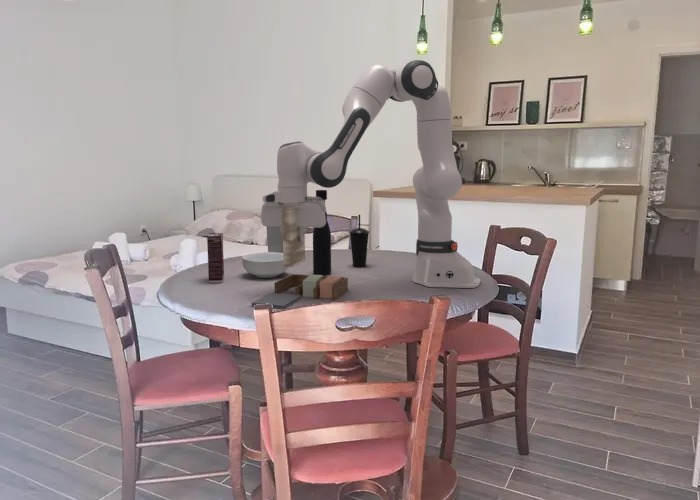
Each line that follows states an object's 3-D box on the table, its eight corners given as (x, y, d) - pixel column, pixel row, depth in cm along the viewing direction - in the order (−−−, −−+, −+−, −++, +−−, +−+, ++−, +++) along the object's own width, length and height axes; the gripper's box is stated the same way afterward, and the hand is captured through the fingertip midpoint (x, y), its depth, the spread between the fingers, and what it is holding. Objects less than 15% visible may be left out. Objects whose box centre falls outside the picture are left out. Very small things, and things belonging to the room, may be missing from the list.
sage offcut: (322, 290, 171) (322, 275, 170) (315, 297, 162) (315, 281, 161) (310, 290, 171) (310, 274, 171) (302, 297, 163) (302, 280, 162)
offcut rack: (347, 289, 171) (347, 277, 170) (334, 300, 158) (334, 287, 158) (291, 285, 176) (291, 273, 176) (274, 295, 164) (274, 282, 163)
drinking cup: (345, 266, 208) (345, 214, 205) (359, 263, 213) (359, 213, 210) (358, 269, 202) (358, 216, 199) (373, 266, 207) (373, 214, 204)
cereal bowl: (235, 280, 185) (234, 259, 184) (251, 270, 201) (251, 251, 200) (283, 281, 182) (283, 261, 181) (296, 271, 199) (295, 252, 197)
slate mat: (300, 298, 161) (300, 295, 160) (284, 309, 149) (284, 305, 149) (269, 295, 163) (269, 292, 163) (251, 306, 152) (251, 302, 152)
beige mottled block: (305, 261, 171) (303, 204, 168) (292, 267, 162) (291, 207, 159) (296, 260, 172) (294, 204, 169) (283, 267, 163) (281, 207, 160)
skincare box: (283, 262, 215) (282, 223, 212) (266, 262, 216) (265, 223, 213) (289, 258, 223) (288, 220, 221) (272, 258, 224) (271, 220, 222)
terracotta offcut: (341, 291, 169) (341, 276, 168) (332, 299, 160) (332, 282, 160) (329, 291, 170) (329, 275, 169) (319, 298, 162) (319, 281, 161)
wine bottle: (328, 276, 190) (328, 190, 185) (311, 275, 192) (310, 190, 187) (332, 272, 197) (332, 189, 192) (315, 271, 198) (314, 189, 193)
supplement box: (223, 283, 181) (221, 236, 178) (208, 283, 180) (206, 236, 177) (224, 277, 189) (223, 232, 186) (210, 277, 188) (208, 232, 185)
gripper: (328, 195, 164) (329, 240, 166) (266, 195, 169) (268, 238, 172) (321, 197, 158) (322, 244, 160) (257, 196, 164) (259, 241, 166)
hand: (294, 241), depth 166 cm, fingers closed on beige mottled block, 3 cm apart
